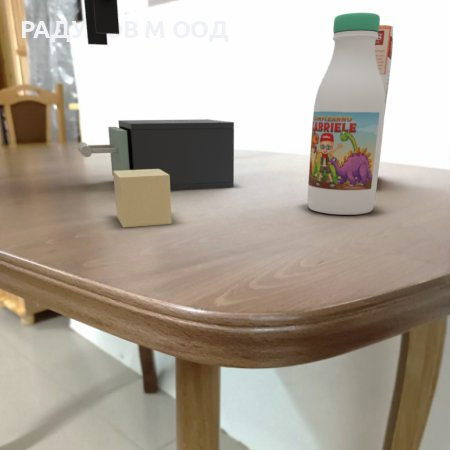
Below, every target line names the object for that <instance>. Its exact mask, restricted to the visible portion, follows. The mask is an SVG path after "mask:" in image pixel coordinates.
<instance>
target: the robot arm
mask: <svg viewBox="0 0 450 450" xmlns="http://www.w3.org/2000/svg"><path fill="white" fill-rule="evenodd" d="M83 4H84V14H85V25H86V27H85V28H86V35H87V45H96V46H97V45H99V46H108V35H119V34H120V24H119V21H120V20H119V9H118V0H83Z"/></svg>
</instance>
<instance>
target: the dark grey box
mask: <svg viewBox="0 0 450 450" xmlns="http://www.w3.org/2000/svg"><path fill="white" fill-rule="evenodd" d="M118 128H120V129H123V130H125V128H128V129H131V144H132V159H133V170H145V169H160V170H162V171H164V172H165V173H167V174H169V175H170V192H172V191H187V190H188V191H189V190H207V189H225V188H234V187H235V185H234V183H235V181H234V180H235V175H234V174H235V121H227V120H218V119H216V120H215V119H210V118H209V119H208V118H207V119H203V118H201V119H200V118H199V119H130V120H129V119H124V120H123V119H121V120H120V119H119V120H118Z"/></svg>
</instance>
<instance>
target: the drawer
mask: <svg viewBox="0 0 450 450" xmlns="http://www.w3.org/2000/svg"><path fill="white" fill-rule="evenodd" d="M107 128H108V140H109V141H108V142H109V144H87V142H83V141H81V142H79V143H78V144H77V150H78V152H80V154H81V156H83V157H85V158H89V157H91V156H92V154H110V162H111V163H110V164H111V175H112V176H113V171H121V170H133V159H132V144H131V129H128V128H125V130H123V129H120V128H119V126H108V127H107Z"/></svg>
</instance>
